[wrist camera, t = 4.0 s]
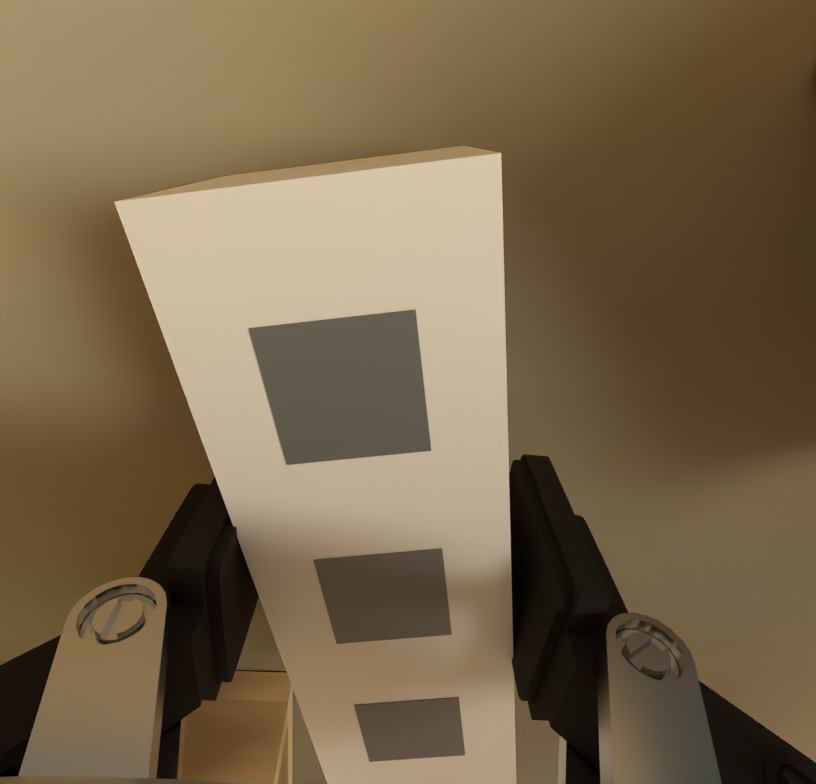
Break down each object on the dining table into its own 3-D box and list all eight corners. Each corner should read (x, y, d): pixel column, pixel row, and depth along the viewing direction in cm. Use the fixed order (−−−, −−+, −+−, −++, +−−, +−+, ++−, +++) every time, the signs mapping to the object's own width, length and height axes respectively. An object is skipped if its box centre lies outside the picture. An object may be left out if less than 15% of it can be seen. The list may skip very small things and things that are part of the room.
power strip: (463, 145, 9) (501, 152, 6) (490, 639, 16) (516, 790, 12) (224, 176, 9) (113, 202, 6) (349, 650, 16) (333, 801, 12)
